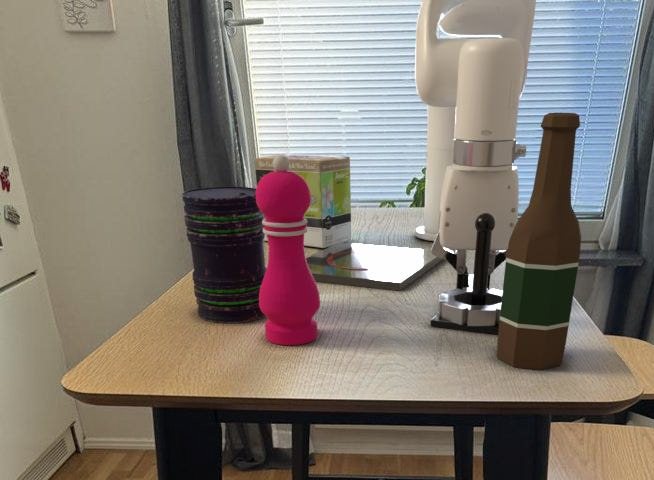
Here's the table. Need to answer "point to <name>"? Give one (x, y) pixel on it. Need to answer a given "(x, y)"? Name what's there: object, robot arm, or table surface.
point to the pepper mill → (286, 258)
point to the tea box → (320, 195)
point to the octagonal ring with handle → (470, 307)
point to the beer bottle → (543, 257)
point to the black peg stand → (477, 275)
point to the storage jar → (226, 252)
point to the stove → (370, 265)
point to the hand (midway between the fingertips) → (471, 299)
